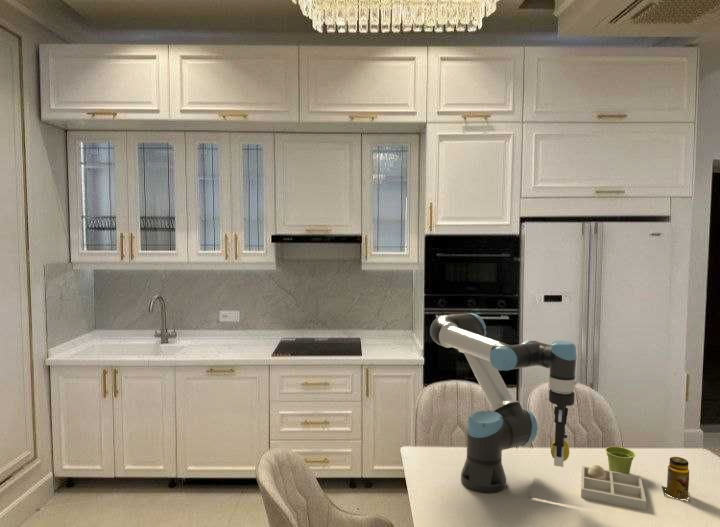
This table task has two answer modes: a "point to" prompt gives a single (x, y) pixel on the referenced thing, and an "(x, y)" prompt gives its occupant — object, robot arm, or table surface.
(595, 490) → the tray
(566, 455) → the lemon
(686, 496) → the condiment
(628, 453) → the plant pot
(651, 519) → the table surface
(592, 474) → the beige rounded ball
